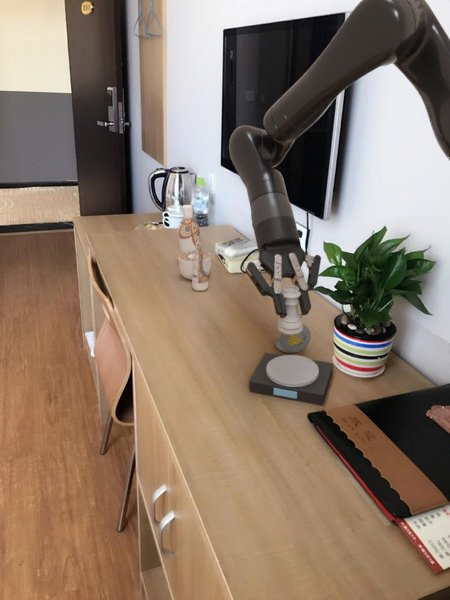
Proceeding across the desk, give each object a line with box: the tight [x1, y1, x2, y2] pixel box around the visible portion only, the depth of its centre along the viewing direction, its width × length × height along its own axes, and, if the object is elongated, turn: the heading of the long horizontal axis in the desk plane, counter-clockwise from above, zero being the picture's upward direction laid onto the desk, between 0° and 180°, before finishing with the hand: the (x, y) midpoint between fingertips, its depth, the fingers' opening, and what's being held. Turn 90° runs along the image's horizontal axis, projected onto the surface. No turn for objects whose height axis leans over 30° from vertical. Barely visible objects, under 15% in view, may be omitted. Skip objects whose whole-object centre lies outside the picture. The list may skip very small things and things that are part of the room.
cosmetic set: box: [177, 204, 212, 292], centre depth 143 cm, size 25×9×19 cm, turn 12°
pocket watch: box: [274, 313, 312, 354], centre depth 107 cm, size 8×8×10 cm
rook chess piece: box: [277, 284, 304, 335], centre depth 86 cm, size 4×4×8 cm
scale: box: [248, 352, 334, 406], centre depth 97 cm, size 14×11×3 cm
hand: (294, 314), depth 85 cm, fingers closed on rook chess piece, 3 cm apart
